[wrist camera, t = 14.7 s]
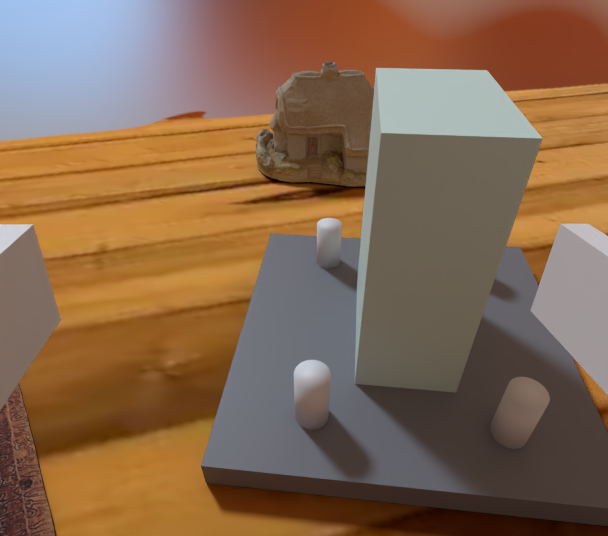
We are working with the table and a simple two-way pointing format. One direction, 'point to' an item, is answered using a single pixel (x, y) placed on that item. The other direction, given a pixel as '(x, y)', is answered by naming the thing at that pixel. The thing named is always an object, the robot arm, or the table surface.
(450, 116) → the mint board
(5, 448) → the wooden tablet
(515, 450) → the peg plinth
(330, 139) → the ceramic model
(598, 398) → the table surface
